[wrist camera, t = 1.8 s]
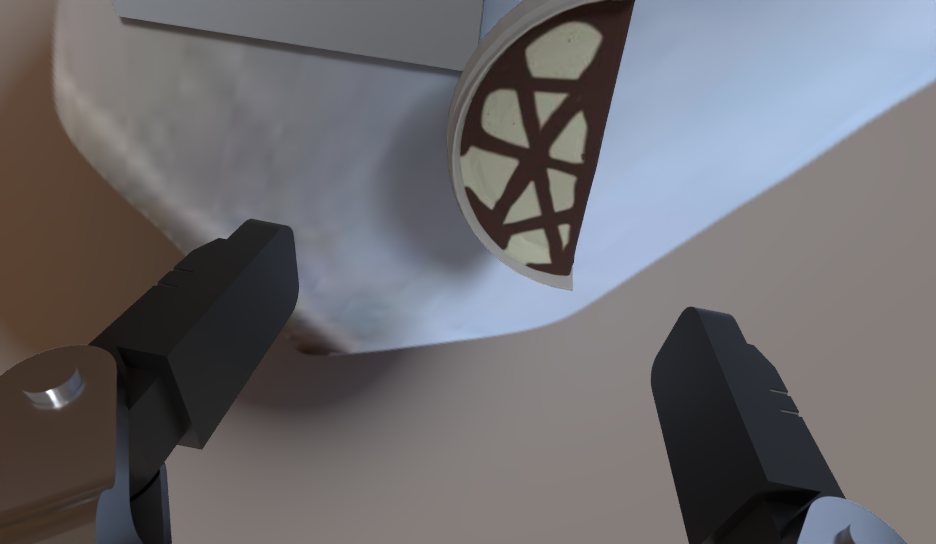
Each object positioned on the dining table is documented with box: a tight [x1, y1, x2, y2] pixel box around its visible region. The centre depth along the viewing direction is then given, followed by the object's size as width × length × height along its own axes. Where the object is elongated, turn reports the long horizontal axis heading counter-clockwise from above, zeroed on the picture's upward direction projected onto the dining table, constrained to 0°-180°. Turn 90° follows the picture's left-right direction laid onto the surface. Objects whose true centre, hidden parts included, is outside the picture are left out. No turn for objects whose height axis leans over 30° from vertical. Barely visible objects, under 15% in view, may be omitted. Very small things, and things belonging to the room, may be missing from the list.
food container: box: [447, 0, 635, 291], centre depth 21 cm, size 12×6×10 cm, turn 177°
